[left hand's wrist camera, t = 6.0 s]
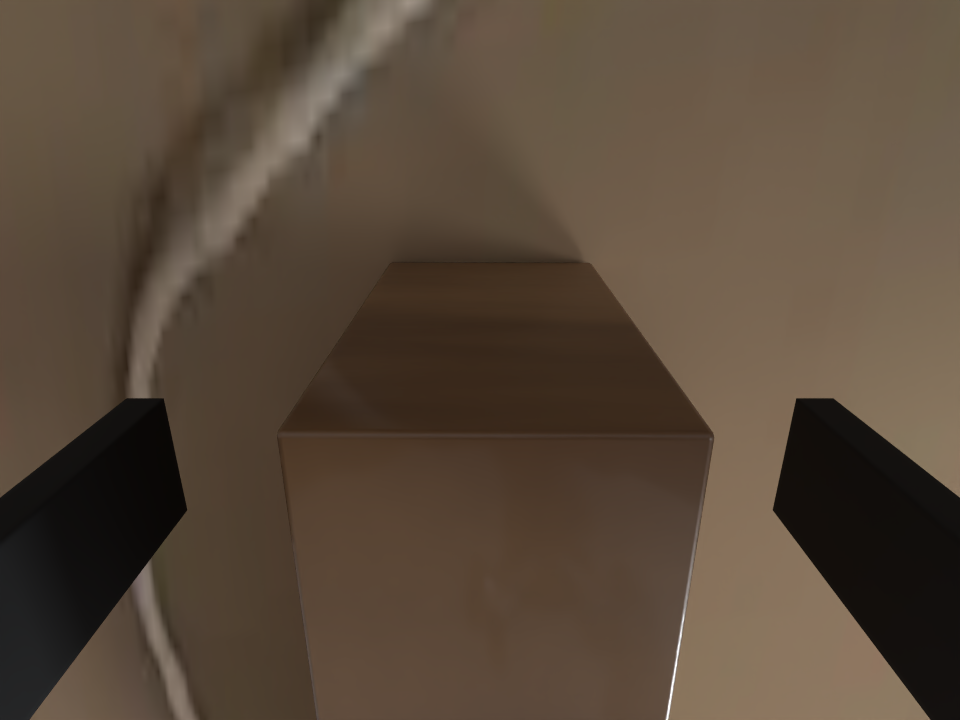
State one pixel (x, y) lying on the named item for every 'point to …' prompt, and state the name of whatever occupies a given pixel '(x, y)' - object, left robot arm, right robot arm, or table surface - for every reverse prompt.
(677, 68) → the table surface
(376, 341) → the bar
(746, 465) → the table surface
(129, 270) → the table surface
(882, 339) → the table surface
